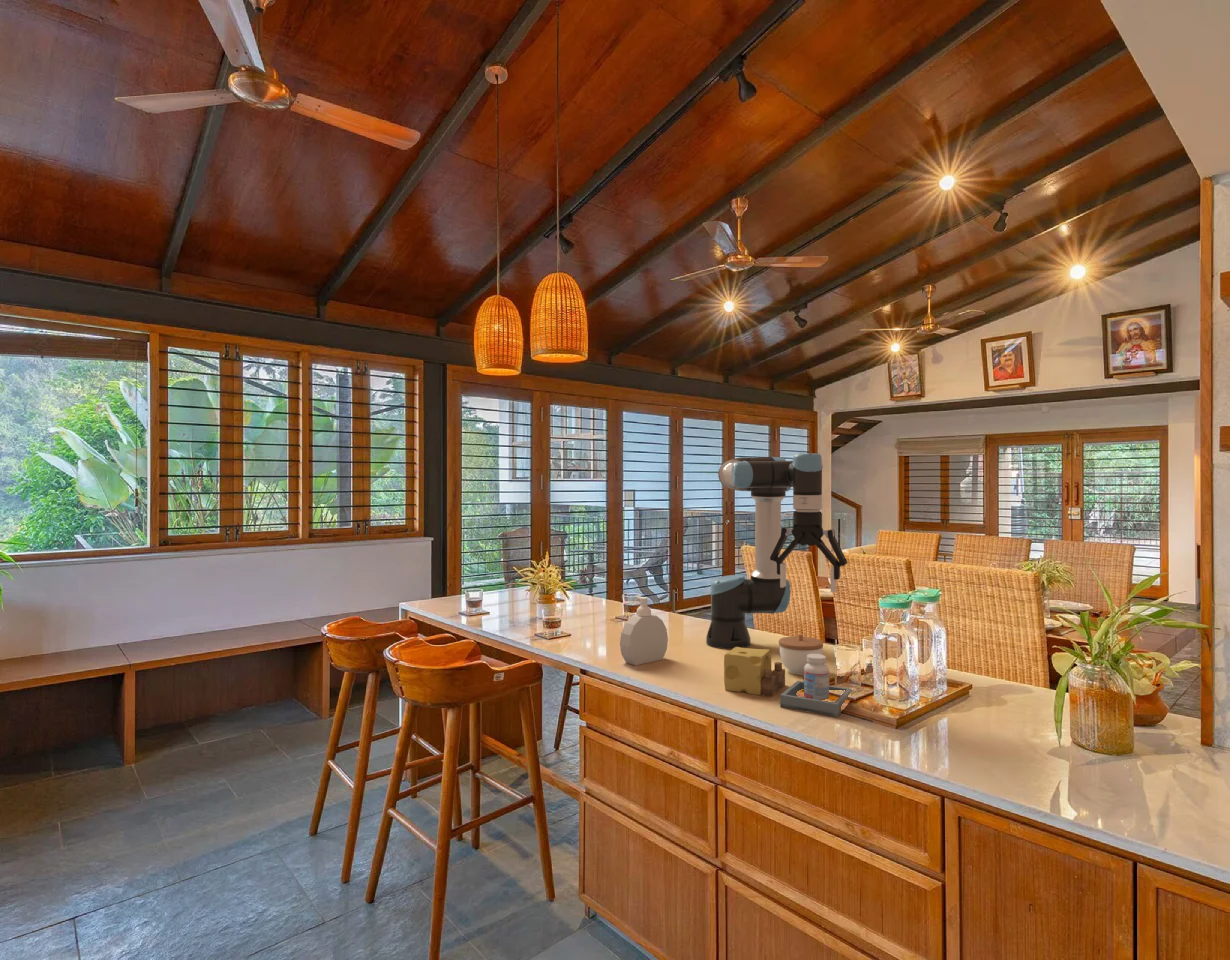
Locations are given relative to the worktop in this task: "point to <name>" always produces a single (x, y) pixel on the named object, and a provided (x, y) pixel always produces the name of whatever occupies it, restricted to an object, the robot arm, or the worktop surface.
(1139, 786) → the worktop surface
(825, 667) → the pill bottle
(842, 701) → the tray
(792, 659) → the lidded bowl
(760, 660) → the cheese
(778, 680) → the stop rail
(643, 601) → the soap bottle
